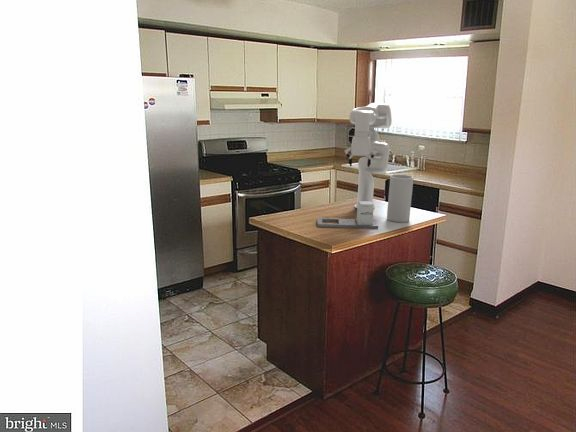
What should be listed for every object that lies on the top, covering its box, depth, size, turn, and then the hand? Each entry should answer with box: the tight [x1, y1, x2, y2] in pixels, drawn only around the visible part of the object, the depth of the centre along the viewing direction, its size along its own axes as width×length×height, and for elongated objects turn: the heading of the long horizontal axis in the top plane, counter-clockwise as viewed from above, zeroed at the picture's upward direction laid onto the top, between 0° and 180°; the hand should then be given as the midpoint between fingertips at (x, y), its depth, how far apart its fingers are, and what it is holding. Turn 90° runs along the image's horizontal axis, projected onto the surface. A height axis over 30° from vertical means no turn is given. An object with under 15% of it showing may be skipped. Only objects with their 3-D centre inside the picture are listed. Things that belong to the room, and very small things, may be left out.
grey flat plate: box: [316, 217, 379, 230], centre depth 248 cm, size 12×32×2 cm, turn 87°
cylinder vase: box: [386, 174, 414, 223], centre depth 257 cm, size 12×12×25 cm
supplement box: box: [356, 201, 375, 225], centre depth 246 cm, size 7×7×13 cm
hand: (359, 166), depth 252 cm, fingers open, 9 cm apart
